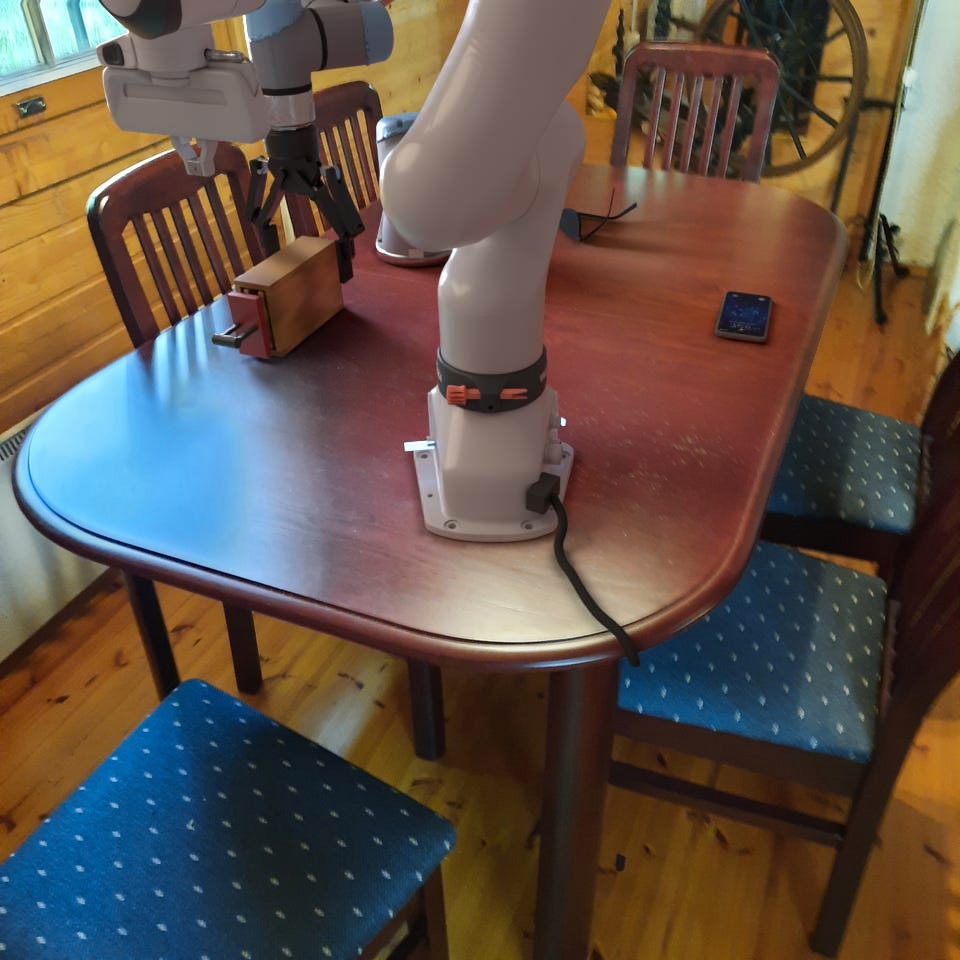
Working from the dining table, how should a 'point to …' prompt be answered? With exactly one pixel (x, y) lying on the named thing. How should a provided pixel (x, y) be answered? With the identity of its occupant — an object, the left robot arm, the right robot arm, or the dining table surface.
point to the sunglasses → (572, 221)
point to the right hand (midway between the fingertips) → (201, 174)
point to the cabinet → (297, 289)
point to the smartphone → (744, 316)
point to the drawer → (248, 324)
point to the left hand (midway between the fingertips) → (311, 274)
